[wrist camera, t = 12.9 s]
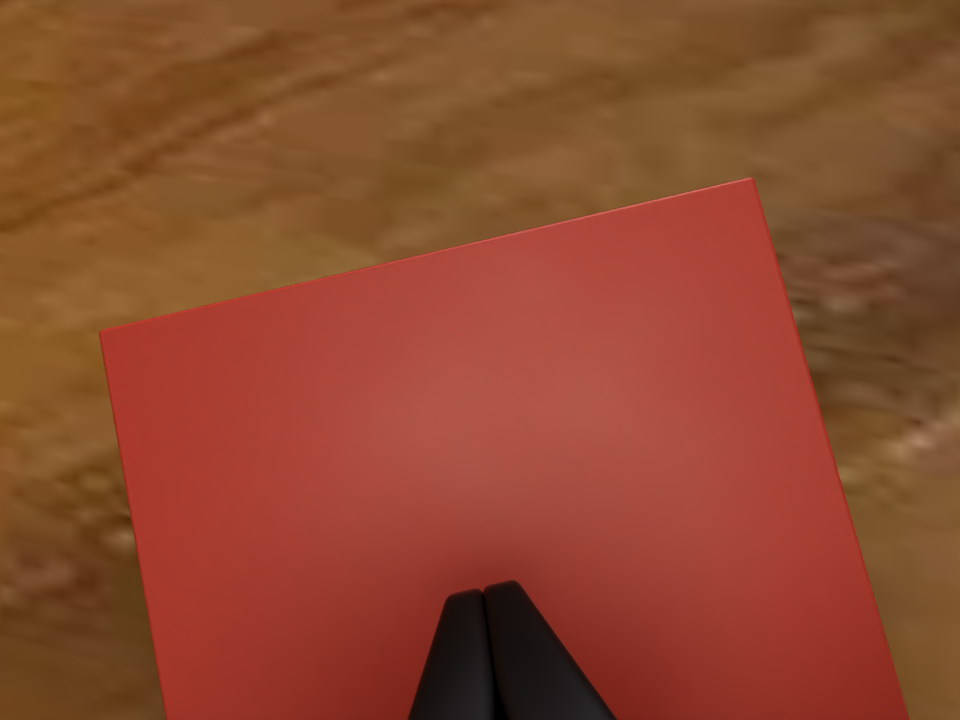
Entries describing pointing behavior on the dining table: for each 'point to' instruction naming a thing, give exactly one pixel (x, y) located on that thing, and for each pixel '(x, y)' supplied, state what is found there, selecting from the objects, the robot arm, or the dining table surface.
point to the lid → (502, 476)
